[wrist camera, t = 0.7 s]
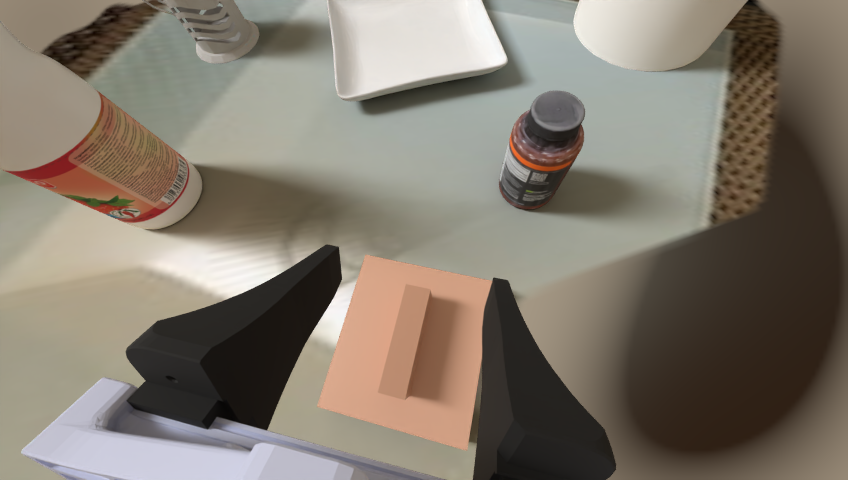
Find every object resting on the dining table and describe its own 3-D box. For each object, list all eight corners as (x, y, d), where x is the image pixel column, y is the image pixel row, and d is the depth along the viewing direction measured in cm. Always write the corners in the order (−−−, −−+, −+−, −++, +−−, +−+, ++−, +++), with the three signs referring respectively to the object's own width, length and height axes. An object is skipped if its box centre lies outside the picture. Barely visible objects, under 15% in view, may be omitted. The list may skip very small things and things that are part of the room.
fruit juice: (219, 195, 36) (-352, -219, 10) (146, 248, 35) (-771, -99, 9) (184, 149, 39) (-325, -262, 13) (116, 195, 38) (-632, -180, 12)
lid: (465, 445, 24) (469, 463, 20) (323, 404, 26) (300, 412, 22) (492, 285, 28) (499, 272, 24) (368, 259, 30) (356, 243, 26)
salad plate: (332, 15, 48) (324, -10, 45) (466, -13, 48) (468, -39, 45) (345, 119, 40) (336, 98, 37) (506, 86, 40) (511, 62, 37)
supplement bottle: (538, 158, 35) (576, 70, 25) (563, 201, 33) (617, 125, 22) (488, 174, 35) (506, 92, 24) (511, 219, 33) (541, 150, 22)
